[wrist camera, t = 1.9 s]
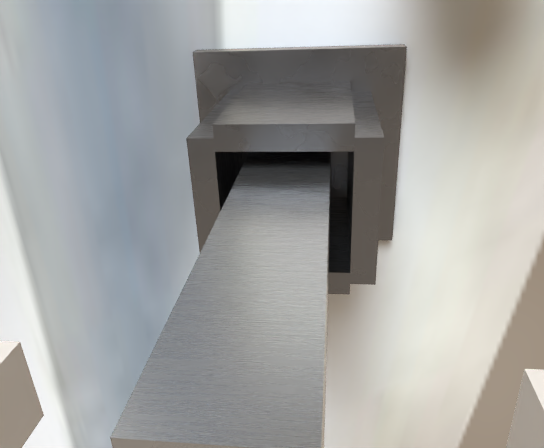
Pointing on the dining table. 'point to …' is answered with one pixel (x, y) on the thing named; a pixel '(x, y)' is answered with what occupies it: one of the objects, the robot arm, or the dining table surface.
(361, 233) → the stand
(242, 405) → the column
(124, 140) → the dining table surface
